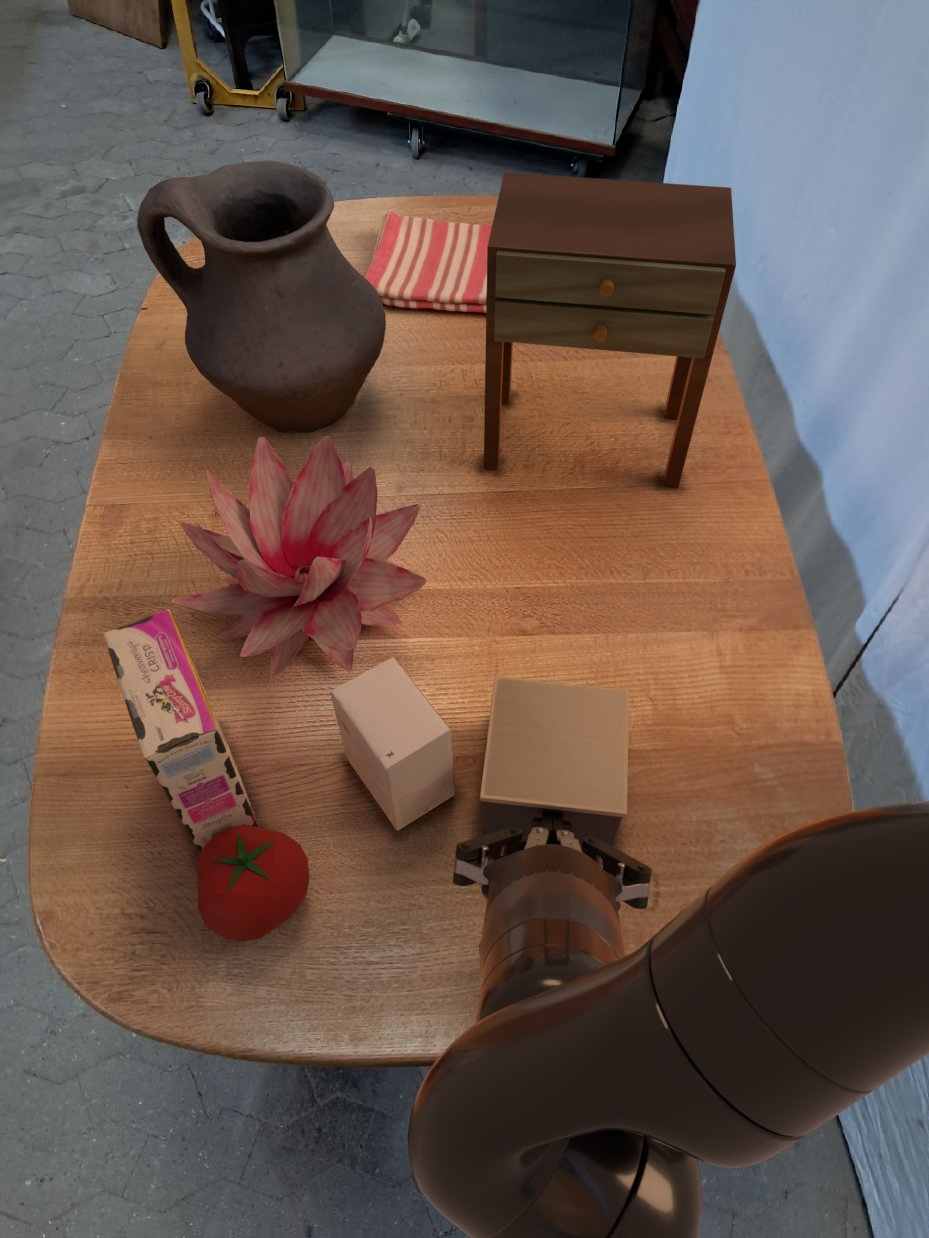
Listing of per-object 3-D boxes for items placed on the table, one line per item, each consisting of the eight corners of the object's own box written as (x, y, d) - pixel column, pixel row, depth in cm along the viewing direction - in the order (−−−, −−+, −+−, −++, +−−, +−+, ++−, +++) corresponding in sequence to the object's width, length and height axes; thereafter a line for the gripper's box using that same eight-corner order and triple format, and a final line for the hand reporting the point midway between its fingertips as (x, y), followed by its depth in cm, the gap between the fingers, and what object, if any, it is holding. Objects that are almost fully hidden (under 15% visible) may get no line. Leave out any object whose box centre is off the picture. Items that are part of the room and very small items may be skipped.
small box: (456, 796, 72) (454, 730, 64) (396, 834, 70) (386, 771, 62) (402, 724, 76) (394, 653, 68) (344, 757, 74) (328, 689, 66)
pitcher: (394, 464, 94) (373, 242, 74) (183, 475, 94) (105, 253, 74) (390, 342, 107) (372, 123, 87) (204, 351, 106) (142, 131, 86)
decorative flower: (192, 726, 76) (140, 619, 64) (197, 537, 89) (154, 418, 76) (445, 691, 78) (441, 581, 66) (414, 511, 90) (406, 391, 78)
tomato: (215, 847, 70) (191, 807, 64) (319, 845, 70) (305, 804, 64) (198, 953, 65) (172, 920, 59) (310, 951, 65) (294, 918, 59)
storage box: (614, 853, 69) (627, 814, 64) (478, 837, 70) (479, 797, 64) (617, 734, 75) (629, 689, 70) (492, 721, 76) (494, 675, 71)
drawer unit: (678, 498, 91) (737, 275, 71) (481, 478, 93) (485, 255, 73) (678, 410, 99) (731, 187, 79) (497, 394, 101) (504, 172, 81)
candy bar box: (267, 835, 70) (219, 730, 57) (204, 863, 69) (141, 762, 56) (221, 723, 76) (169, 604, 63) (163, 747, 75) (97, 631, 62)
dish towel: (383, 232, 121) (381, 207, 118) (558, 243, 119) (560, 218, 116) (359, 309, 111) (356, 283, 108) (550, 322, 109) (552, 296, 106)
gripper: (685, 890, 48) (648, 786, 65) (436, 859, 49) (465, 765, 66) (667, 1022, 49) (636, 885, 66) (424, 988, 50) (455, 863, 67)
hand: (550, 825), depth 66 cm, fingers closed
